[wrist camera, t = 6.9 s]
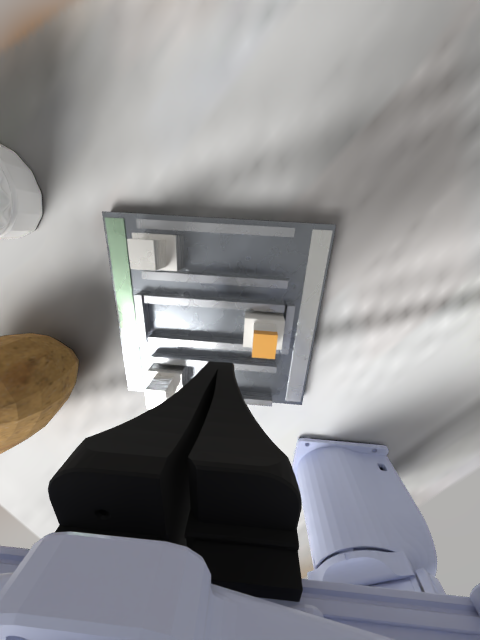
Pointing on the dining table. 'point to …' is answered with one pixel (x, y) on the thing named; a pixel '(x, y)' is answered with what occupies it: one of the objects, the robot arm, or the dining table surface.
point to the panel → (215, 299)
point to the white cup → (17, 197)
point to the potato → (32, 384)
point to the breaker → (263, 333)
